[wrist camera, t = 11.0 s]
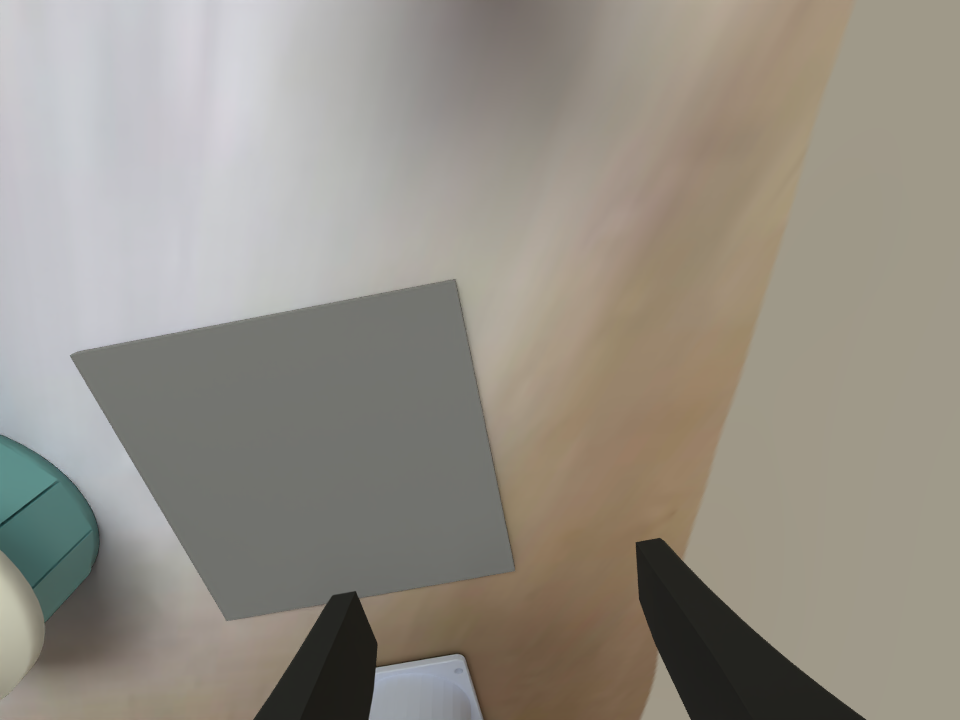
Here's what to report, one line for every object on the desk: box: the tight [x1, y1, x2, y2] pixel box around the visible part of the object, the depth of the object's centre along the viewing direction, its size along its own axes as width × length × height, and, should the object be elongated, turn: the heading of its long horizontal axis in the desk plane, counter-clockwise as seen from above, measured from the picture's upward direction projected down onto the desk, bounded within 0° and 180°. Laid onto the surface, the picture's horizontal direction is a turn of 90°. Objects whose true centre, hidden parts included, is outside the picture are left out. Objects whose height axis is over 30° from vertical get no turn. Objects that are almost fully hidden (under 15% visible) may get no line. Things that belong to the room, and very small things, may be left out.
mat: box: [70, 279, 515, 621], centre depth 21 cm, size 16×16×1 cm
